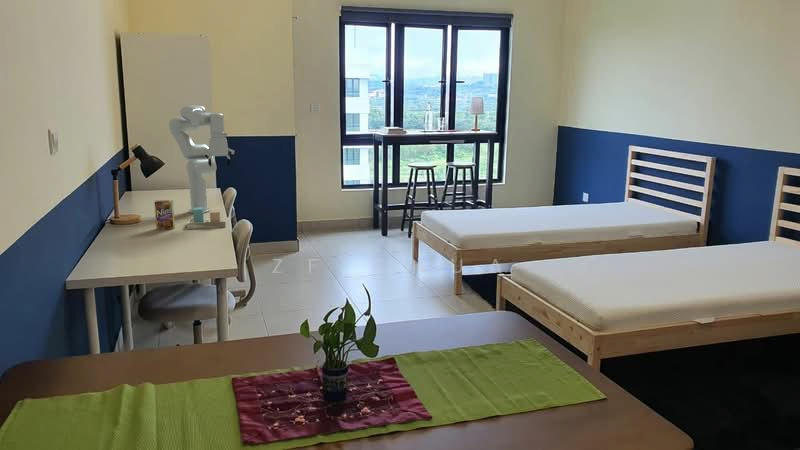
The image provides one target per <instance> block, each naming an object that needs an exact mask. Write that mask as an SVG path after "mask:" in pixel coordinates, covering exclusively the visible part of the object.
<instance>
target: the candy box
mask: <svg viewBox="0 0 800 450" xmlns="http://www.w3.org/2000/svg"><path fill="white" fill-rule="evenodd" d="M153 204H154V214H155V215H154V217H155V224H156V225H155V228H156V230H174V229H176V222H175V212H174V211H175V207H174V200H173V199H169V200H167V199H166V200H165V199H161V200H160V199H159V200H158V199H156V200H155V201H154V203H153Z"/></svg>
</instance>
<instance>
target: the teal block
mask: <svg viewBox="0 0 800 450" xmlns="http://www.w3.org/2000/svg"><path fill="white" fill-rule="evenodd" d="M192 214H193V223H199V222H205V216H204V213H203V207H200V208H193V213H192Z"/></svg>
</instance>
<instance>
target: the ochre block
mask: <svg viewBox="0 0 800 450" xmlns="http://www.w3.org/2000/svg"><path fill="white" fill-rule="evenodd" d="M220 212H221V210H210V211H209V218H210V219H209V220H210V221H209V222H220V221H221V213H220Z"/></svg>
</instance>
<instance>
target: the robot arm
mask: <svg viewBox="0 0 800 450" xmlns="http://www.w3.org/2000/svg"><path fill="white" fill-rule="evenodd" d="M179 113H180V116H176V117H173V118H171V119H170V120H169V124H168V127H169V131H170V134H171V136H172V137H173V139H174V140H175V141H176V142H177V145H178V147H179V149H180V152H181V154H182V157H183V158H184V160H187V162H186V165H185V166H186V167H185V169H186V173H187V177H188V185H189V186H188V187H189V196H190V201H189V202H190V209H188V213H190V214H193V208H200V207H203V214H204V213H210V211H211V208H210V207H208V199H207V198H208V196H207V183H206V179H204V177H203V175H211V174H214V173H216V171H217V167H218V166H217V163H216V161H215V158H214V157H226V158H227V167H229V166H230V165H231V159H232V157H233V156H234V154H235V150H234V149H231V148H229V147H228V140H227V136H228V133H225V118H224V114H223V113H222V112H221V113H220V112H219V113H218V112H214V111H213V112H207V110H206V108H205V107H204V106H202V105H198V104H197V105H196V104H195V105H193V104H192V105H185V106H182V108H180V111H179ZM201 127H209V129H210V137H209V140H208V145H207V144H205V143H194V142H193V138H192V137H191V136H190V135H189V134H188V133H186V131H187V132H188V131H197V130H198V129H200V128H201ZM229 152H231V153H230V155H229Z"/></svg>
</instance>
